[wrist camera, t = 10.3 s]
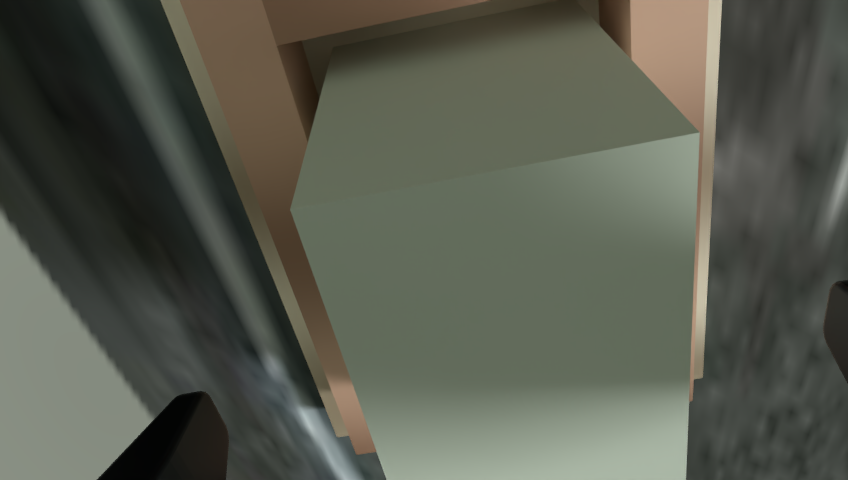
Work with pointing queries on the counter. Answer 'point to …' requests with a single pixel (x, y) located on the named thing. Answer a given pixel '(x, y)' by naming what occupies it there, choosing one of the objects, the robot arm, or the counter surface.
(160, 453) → the robot arm
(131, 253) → the counter surface
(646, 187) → the sage block
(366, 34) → the pink and beige box
